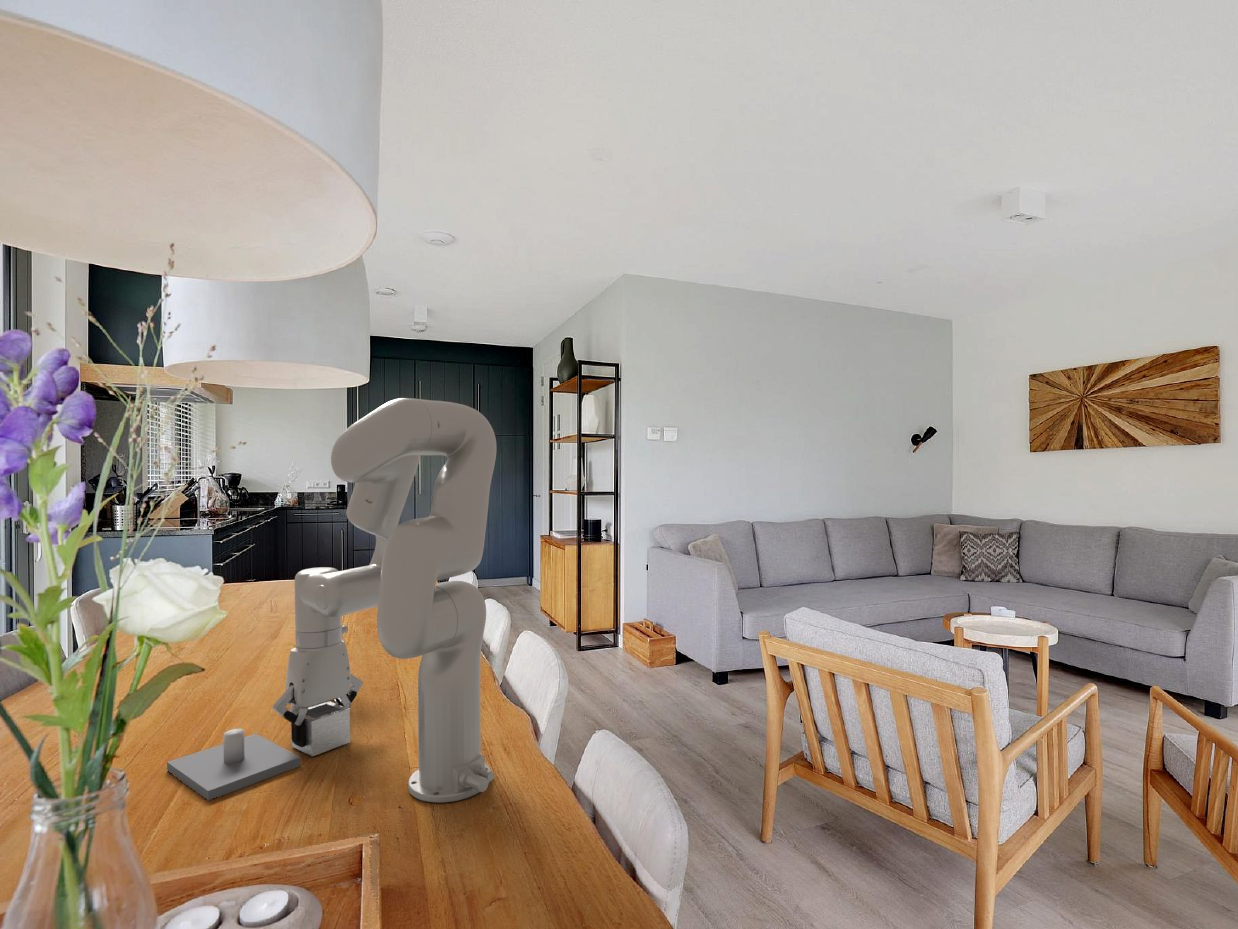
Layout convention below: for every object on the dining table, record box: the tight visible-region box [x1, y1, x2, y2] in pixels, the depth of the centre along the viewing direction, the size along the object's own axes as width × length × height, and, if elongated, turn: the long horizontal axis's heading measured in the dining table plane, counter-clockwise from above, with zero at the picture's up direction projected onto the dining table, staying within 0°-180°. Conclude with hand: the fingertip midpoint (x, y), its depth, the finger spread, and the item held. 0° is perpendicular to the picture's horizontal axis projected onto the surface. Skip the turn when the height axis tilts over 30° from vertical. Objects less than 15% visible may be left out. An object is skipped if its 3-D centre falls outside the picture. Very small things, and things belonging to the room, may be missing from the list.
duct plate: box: [166, 728, 302, 802], centre depth 109 cm, size 16×14×6 cm
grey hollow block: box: [288, 701, 351, 757], centre depth 119 cm, size 12×7×6 cm, turn 53°
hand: (321, 736), depth 118 cm, fingers closed on grey hollow block, 7 cm apart
